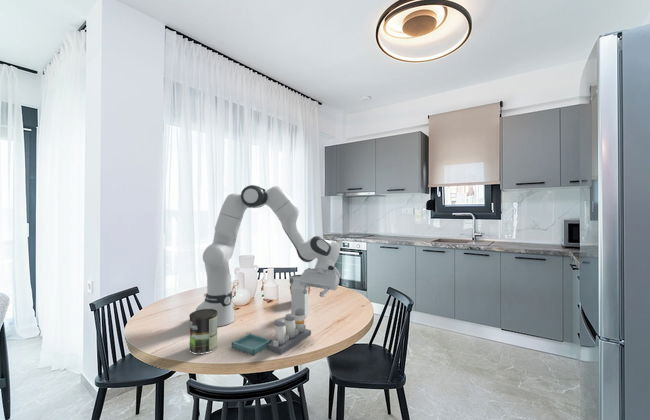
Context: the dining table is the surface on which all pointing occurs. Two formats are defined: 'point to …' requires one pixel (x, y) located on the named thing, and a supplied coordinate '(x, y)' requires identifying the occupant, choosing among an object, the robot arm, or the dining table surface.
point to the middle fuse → (290, 325)
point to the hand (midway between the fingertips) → (312, 294)
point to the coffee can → (203, 331)
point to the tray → (251, 344)
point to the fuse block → (289, 341)
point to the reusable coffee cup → (296, 278)
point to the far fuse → (280, 331)
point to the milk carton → (298, 298)
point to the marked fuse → (299, 320)
